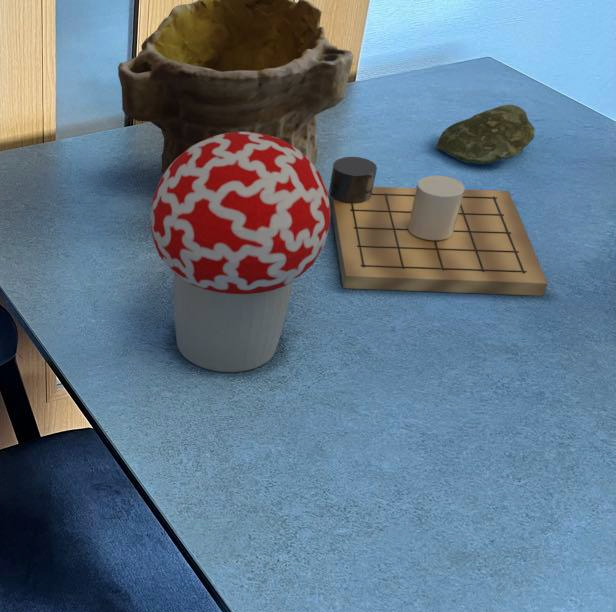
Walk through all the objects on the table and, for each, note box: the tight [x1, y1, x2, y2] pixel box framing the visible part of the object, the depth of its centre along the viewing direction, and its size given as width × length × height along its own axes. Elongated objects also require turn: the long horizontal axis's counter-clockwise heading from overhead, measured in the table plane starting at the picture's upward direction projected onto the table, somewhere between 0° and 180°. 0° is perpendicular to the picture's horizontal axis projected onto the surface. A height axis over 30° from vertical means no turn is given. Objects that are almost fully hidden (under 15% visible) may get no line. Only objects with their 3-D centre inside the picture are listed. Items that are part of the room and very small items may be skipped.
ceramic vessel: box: [117, 0, 354, 175], centre depth 113 cm, size 23×24×25 cm
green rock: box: [436, 104, 536, 165], centre depth 127 cm, size 10×7×10 cm
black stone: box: [328, 156, 378, 203], centre depth 116 cm, size 5×5×3 cm
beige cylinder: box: [408, 175, 466, 240], centre depth 109 cm, size 5×5×5 cm
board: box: [328, 186, 548, 297], centre depth 112 cm, size 20×20×2 cm
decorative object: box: [149, 132, 331, 373], centre depth 92 cm, size 16×16×20 cm
